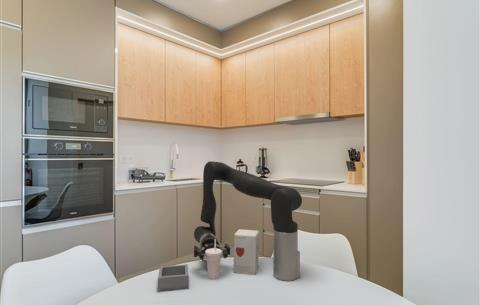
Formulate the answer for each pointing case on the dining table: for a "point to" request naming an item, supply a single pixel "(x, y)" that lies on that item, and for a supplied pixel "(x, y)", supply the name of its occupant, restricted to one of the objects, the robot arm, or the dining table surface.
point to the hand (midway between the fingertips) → (214, 256)
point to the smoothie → (213, 261)
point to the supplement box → (246, 251)
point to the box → (173, 278)
